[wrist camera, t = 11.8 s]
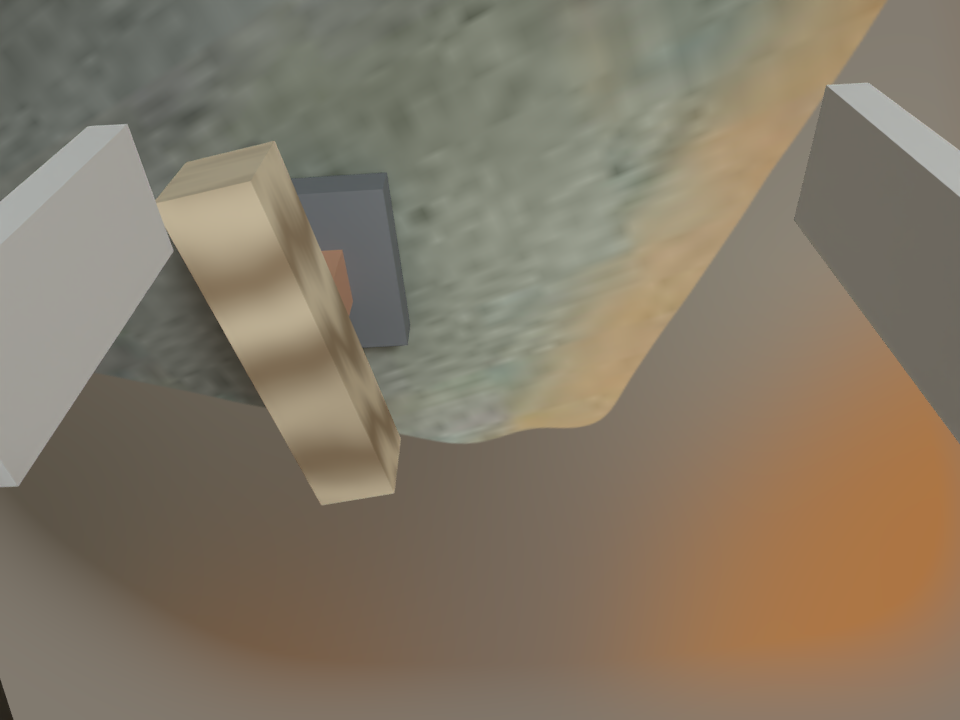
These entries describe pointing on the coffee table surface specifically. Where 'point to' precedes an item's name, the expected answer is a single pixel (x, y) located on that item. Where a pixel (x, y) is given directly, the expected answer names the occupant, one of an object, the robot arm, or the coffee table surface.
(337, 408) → the beam
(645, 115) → the coffee table surface
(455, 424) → the coffee table surface
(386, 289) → the fulcrum
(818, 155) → the robot arm
